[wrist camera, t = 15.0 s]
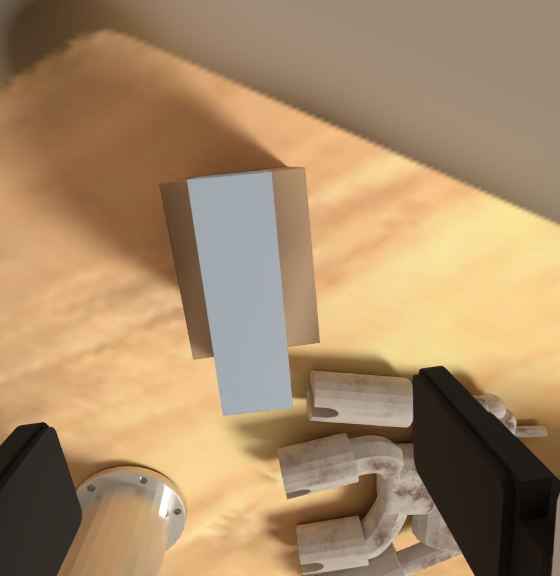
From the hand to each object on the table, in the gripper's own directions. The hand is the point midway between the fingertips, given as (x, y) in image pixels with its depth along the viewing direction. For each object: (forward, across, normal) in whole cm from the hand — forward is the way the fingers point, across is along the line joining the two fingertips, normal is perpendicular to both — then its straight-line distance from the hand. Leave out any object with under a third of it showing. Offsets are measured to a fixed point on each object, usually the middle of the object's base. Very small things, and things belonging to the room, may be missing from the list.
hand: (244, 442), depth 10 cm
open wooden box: (+28, 0, 0) cm, 28 cm away
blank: (+17, 0, 0) cm, 17 cm away
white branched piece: (+29, -16, +28) cm, 43 cm away
